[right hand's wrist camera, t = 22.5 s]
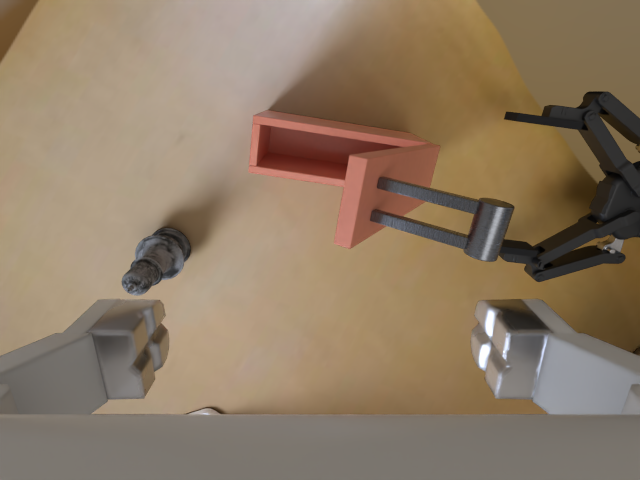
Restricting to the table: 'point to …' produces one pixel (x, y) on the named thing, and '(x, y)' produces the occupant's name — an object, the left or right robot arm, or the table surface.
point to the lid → (413, 202)
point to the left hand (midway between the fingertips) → (491, 182)
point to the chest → (315, 146)
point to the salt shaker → (156, 260)
